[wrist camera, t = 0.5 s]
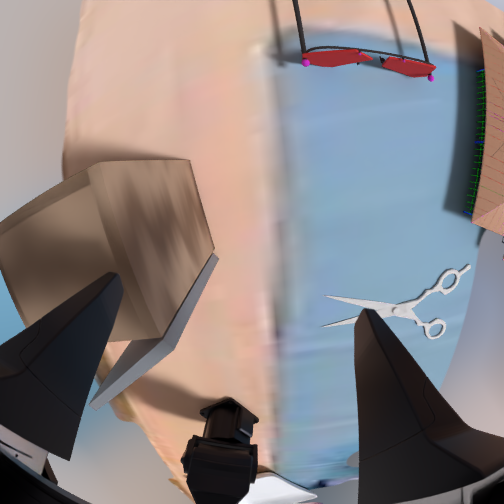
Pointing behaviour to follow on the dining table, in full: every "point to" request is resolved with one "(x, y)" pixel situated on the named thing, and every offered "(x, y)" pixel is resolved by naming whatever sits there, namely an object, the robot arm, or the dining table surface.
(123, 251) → the walnut box
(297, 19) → the glasses
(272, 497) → the salad plate
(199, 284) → the flap
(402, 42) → the dining table surface
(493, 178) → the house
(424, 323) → the scissors
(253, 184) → the dining table surface
